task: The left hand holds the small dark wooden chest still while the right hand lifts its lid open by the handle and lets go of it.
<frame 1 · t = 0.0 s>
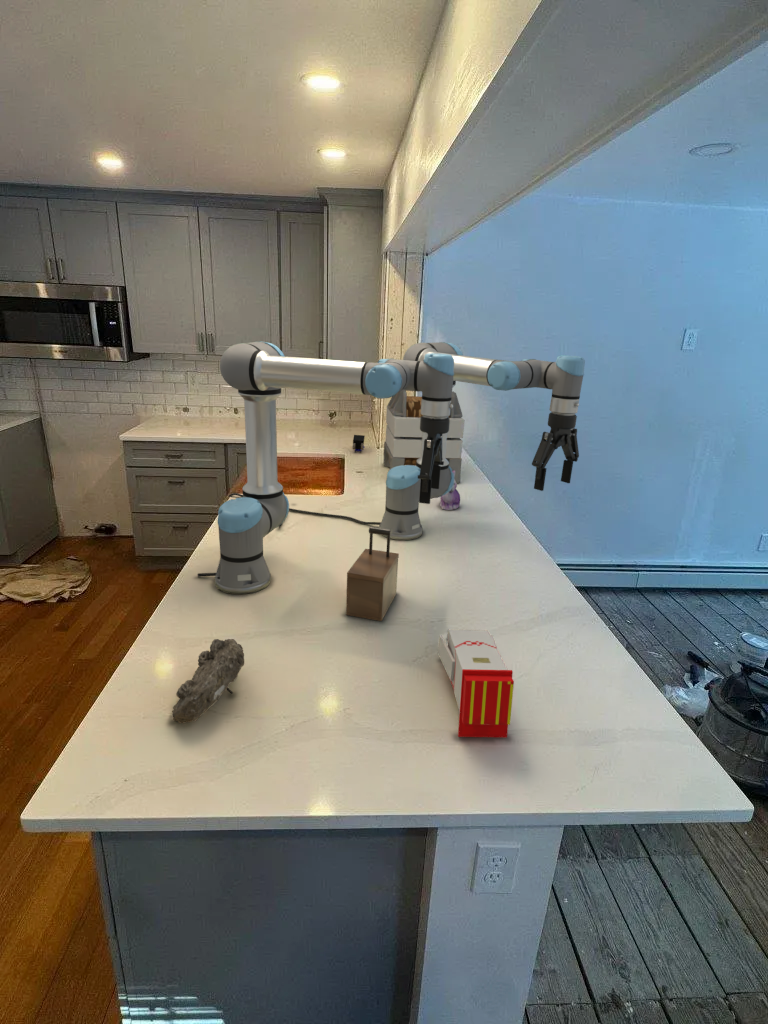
left hand: (429, 495, 152), 28 cm above the counter, tool pointing down, fingers open, 13 cm apart
right hand: (552, 485, 166), 28 cm above the counter, tool pointing down, fingers open, 13 cm apart
white wooden crate: (419, 473, 275), on the counter
toy: (469, 691, 119), on the counter
figurine: (449, 507, 230), on the counter
feather: (286, 516, 211), on the counter
figurine character: (358, 450, 313), on the counter
chest: (372, 603, 152), on the counter
lid: (374, 550, 147), point 15 cm above the counter, hinge at 0.0°
fossil: (214, 692, 115), on the counter
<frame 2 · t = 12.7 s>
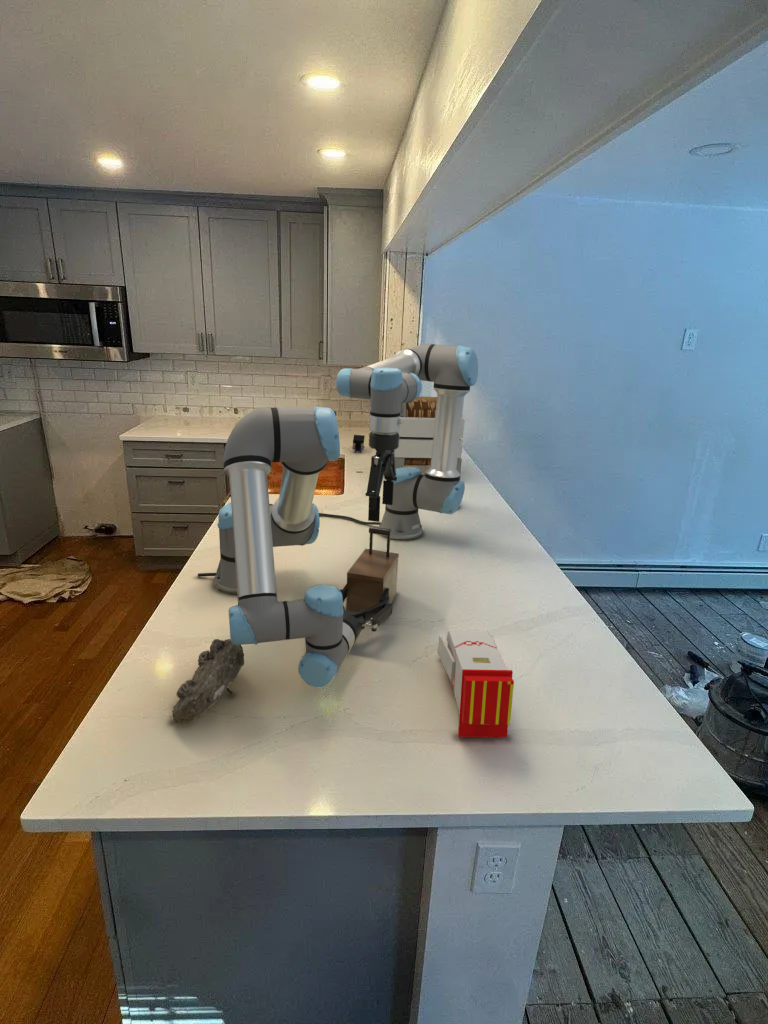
left hand: (368, 589, 146), 6 cm above the counter, tool horizontal, fingers closed on chest, 9 cm apart
right hand: (380, 512, 148), 24 cm above the counter, tool pointing down, fingers open, 13 cm apart
chest: (372, 603, 152), on the counter, touching left hand
everything else where it was.
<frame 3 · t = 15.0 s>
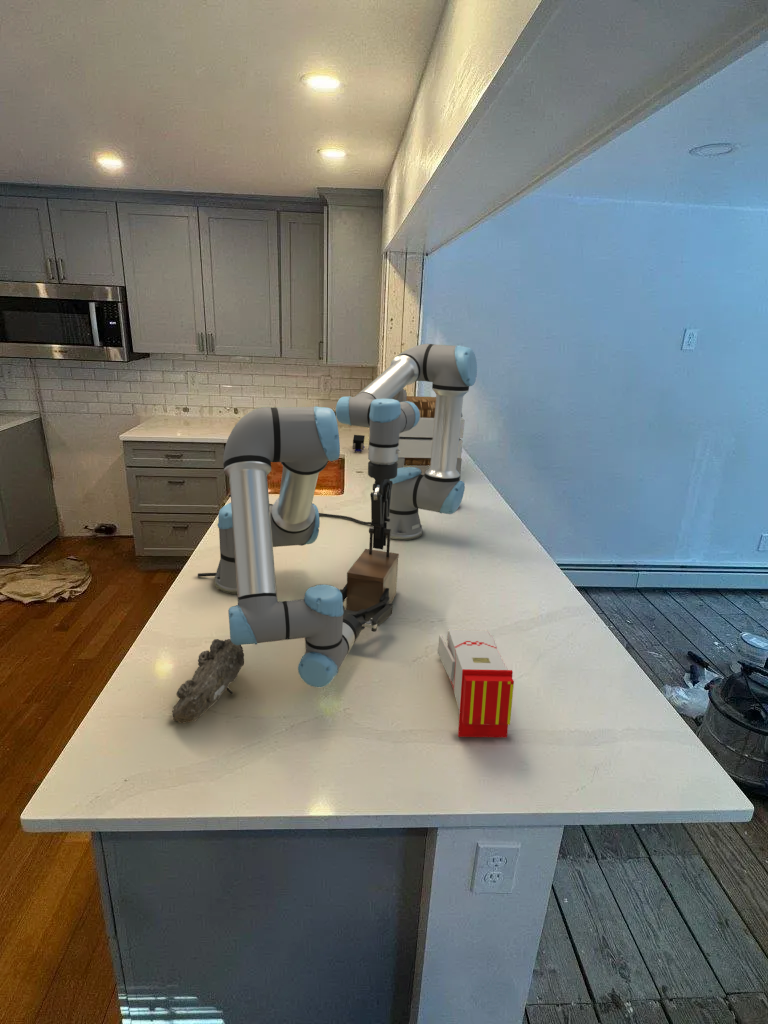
left hand: (368, 589, 146), 7 cm above the counter, tool horizontal, fingers closed on chest, 9 cm apart
right hand: (379, 546, 152), 15 cm above the counter, tool pointing down, fingers closed on lid, 2 cm apart
chest: (372, 604, 152), on the counter, touching left hand
lid: (374, 551, 147), point 15 cm above the counter, hinge at -0.1°, touching right hand
everything else where it was.
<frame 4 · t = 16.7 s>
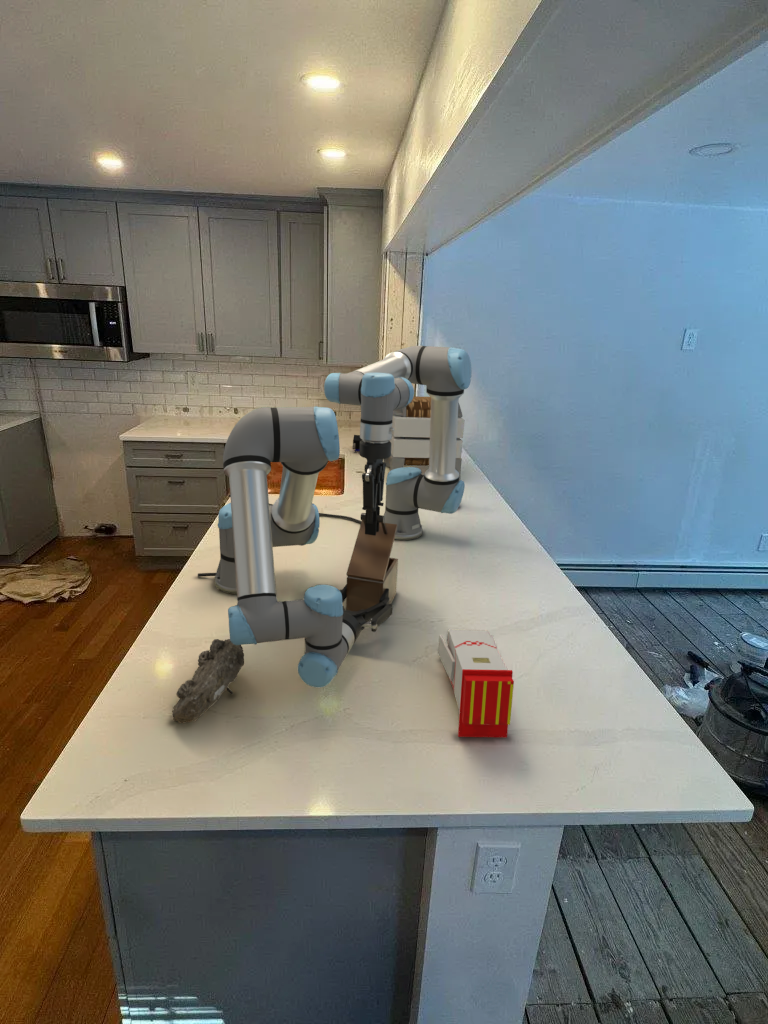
left hand: (368, 590, 146), 6 cm above the counter, tool horizontal, fingers closed on chest, 9 cm apart
right hand: (371, 532, 142), 22 cm above the counter, tool pointing down, fingers closed on lid, 2 cm apart
chest: (372, 604, 152), on the counter, touching left hand
lid: (370, 542, 141), point 20 cm above the counter, hinge at 39.4°, touching right hand
everything else where it was.
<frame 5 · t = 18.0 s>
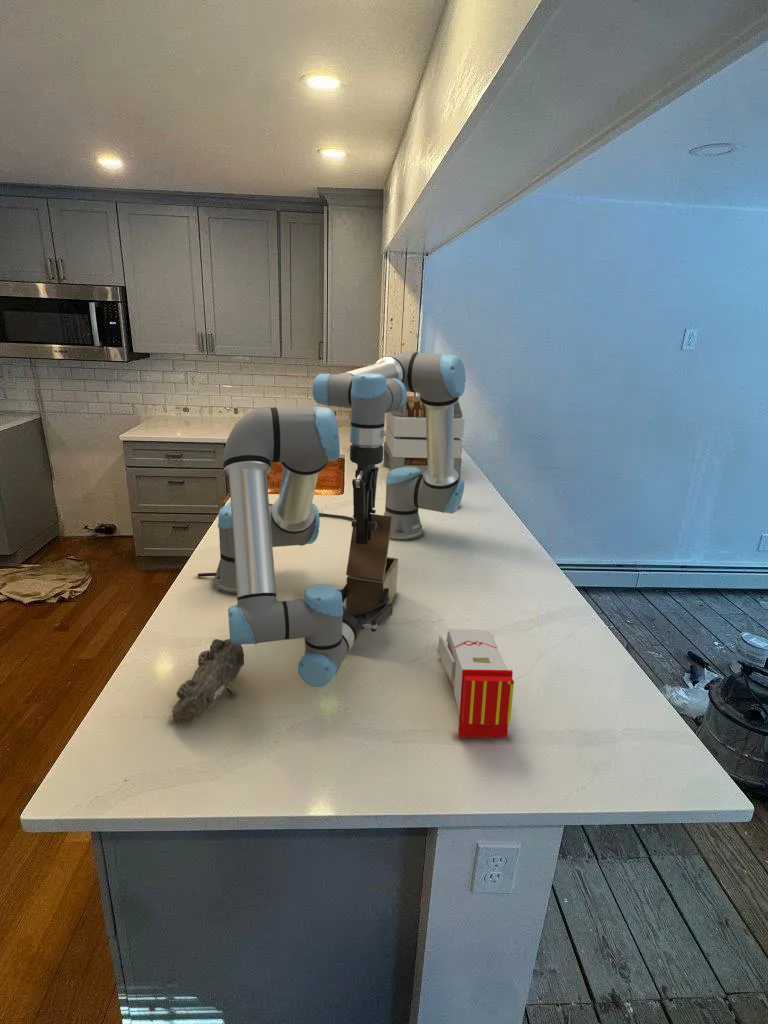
left hand: (368, 590, 146), 6 cm above the counter, tool horizontal, fingers closed on chest, 9 cm apart
right hand: (363, 541, 135), 22 cm above the counter, tool pointing down, fingers open, 2 cm apart
chest: (372, 604, 152), on the counter, touching left hand
lid: (365, 546, 137), point 20 cm above the counter, hinge at 67.7°
everything else where it was.
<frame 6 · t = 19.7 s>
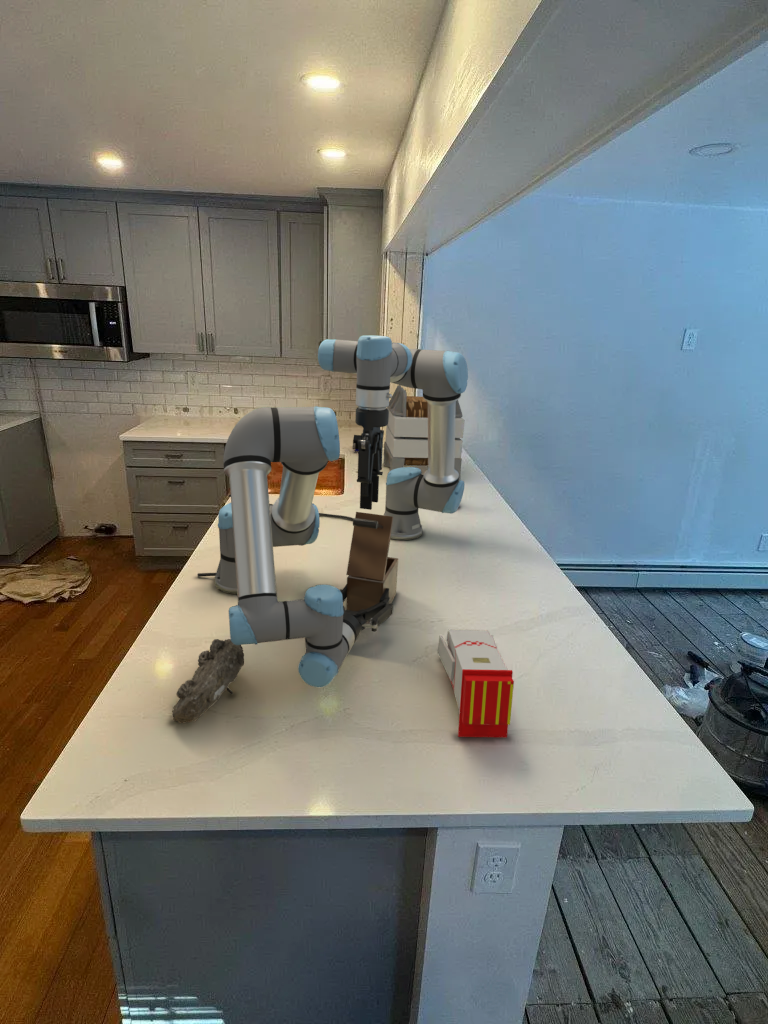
left hand: (368, 589, 146), 6 cm above the counter, tool horizontal, fingers closed on chest, 9 cm apart
right hand: (369, 504, 136), 30 cm above the counter, tool pointing down, fingers open, 5 cm apart
chest: (372, 603, 152), on the counter, touching left hand
lid: (366, 545, 138), point 20 cm above the counter, hinge at 65.1°
everything else where it was.
when the left hand's fingers open (6 cm above the counter, at t = 22.0 s): chest stays where it is, on the counter.
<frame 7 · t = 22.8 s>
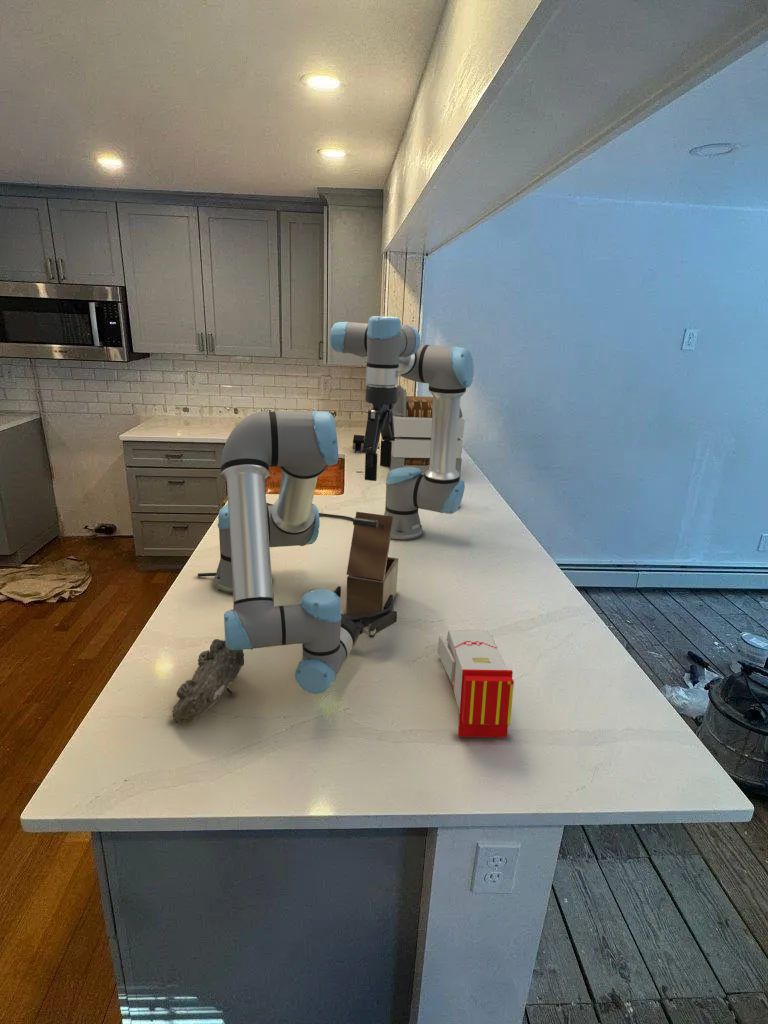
left hand: (365, 595, 142), 7 cm above the counter, tool horizontal, fingers open, 13 cm apart
right hand: (378, 472, 140), 36 cm above the counter, tool pointing down, fingers open, 13 cm apart
chest: (372, 603, 152), on the counter
lid: (366, 544, 138), point 20 cm above the counter, hinge at 64.5°
everything else where it was.
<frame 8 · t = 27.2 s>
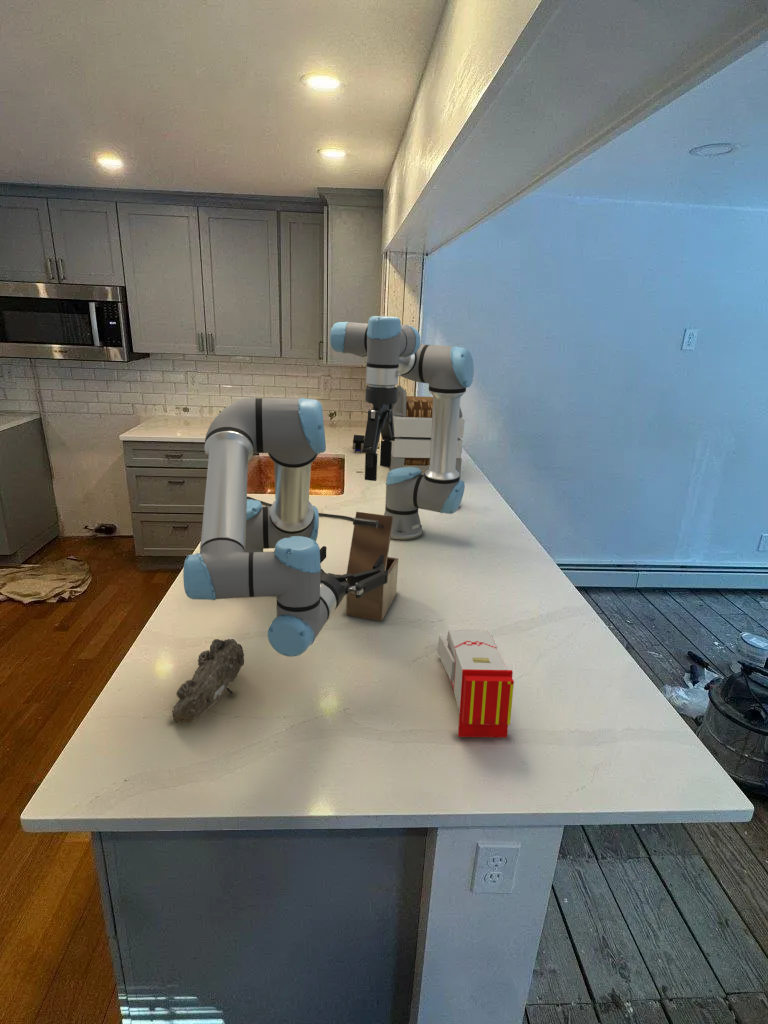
left hand: (353, 555, 128), 22 cm above the counter, tool horizontal, fingers open, 13 cm apart
right hand: (378, 472, 140), 36 cm above the counter, tool pointing down, fingers open, 13 cm apart
nothing on the counter moved.
at the end: lid at +64° (first picture: +0°); the left hand is holding nothing; the right hand is holding nothing; chest tilted 0°; chest never tilted more than 1° during the clip; chest moved 0.0 cm from its start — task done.
